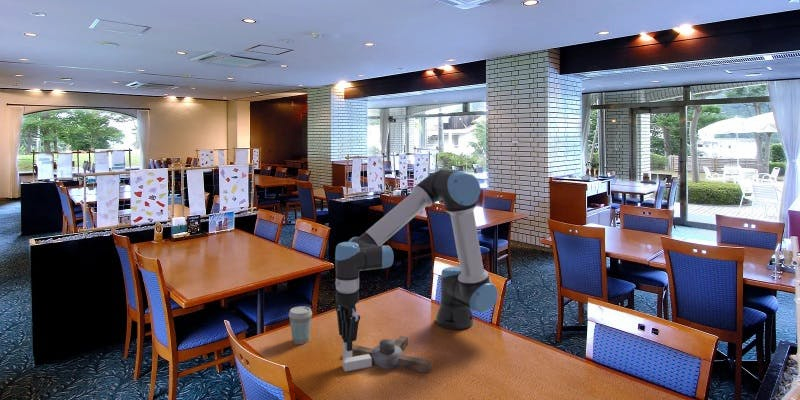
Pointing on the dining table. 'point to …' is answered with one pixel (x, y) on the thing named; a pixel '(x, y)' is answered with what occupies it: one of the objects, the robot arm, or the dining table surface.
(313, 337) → the dining table surface
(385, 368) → the stool base
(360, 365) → the folding leg
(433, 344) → the dining table surface
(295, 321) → the coffee cup
